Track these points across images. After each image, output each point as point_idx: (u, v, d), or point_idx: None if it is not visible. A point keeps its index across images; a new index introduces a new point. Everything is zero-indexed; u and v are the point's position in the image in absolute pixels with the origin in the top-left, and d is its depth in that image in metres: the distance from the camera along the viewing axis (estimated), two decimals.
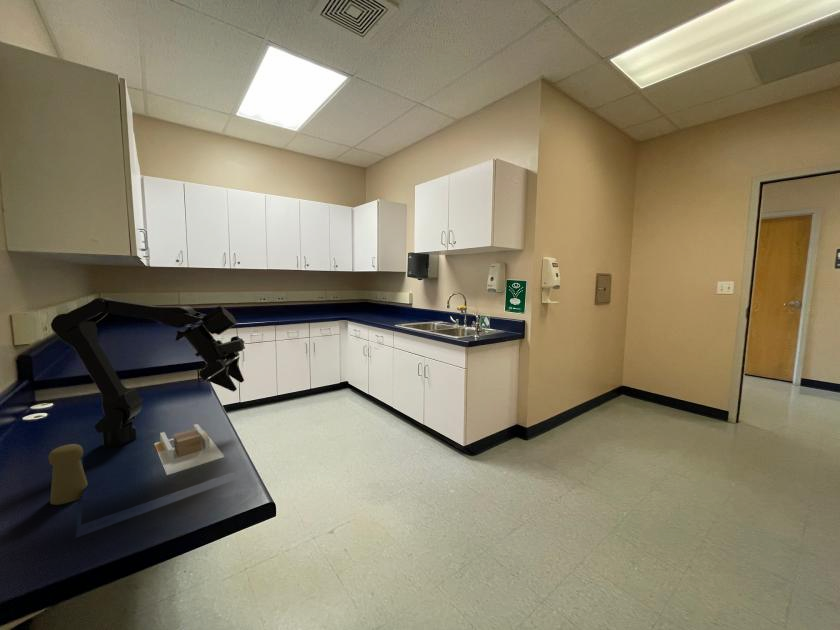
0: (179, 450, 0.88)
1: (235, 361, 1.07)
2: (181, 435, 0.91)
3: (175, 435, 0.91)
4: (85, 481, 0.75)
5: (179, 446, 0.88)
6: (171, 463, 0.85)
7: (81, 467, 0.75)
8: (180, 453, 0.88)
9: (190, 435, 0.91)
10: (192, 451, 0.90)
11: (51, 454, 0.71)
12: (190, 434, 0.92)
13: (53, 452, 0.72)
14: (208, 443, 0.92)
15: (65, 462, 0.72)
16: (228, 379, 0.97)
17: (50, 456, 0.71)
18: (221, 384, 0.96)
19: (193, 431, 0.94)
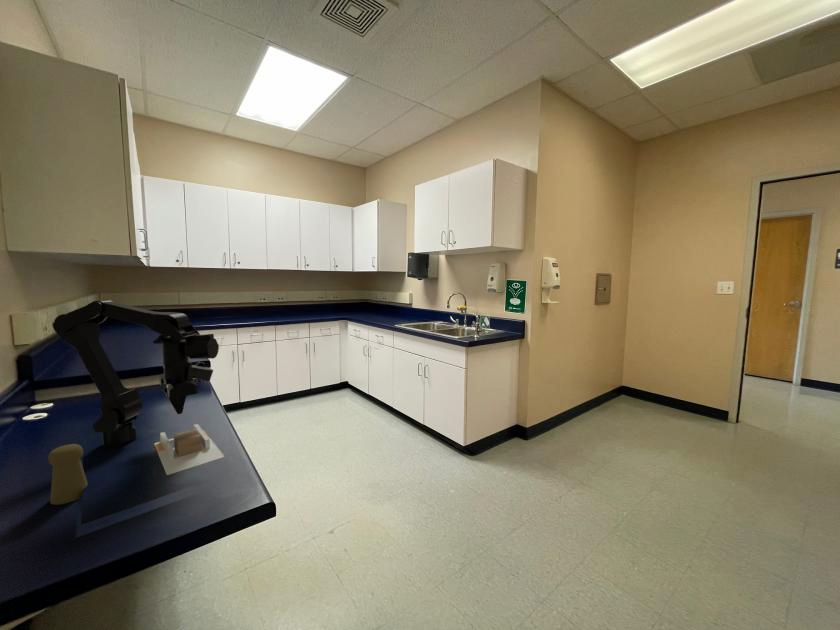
0: (179, 450, 0.88)
1: None
2: (181, 435, 0.91)
3: (175, 435, 0.91)
4: (85, 481, 0.75)
5: (179, 446, 0.88)
6: (171, 463, 0.85)
7: (81, 467, 0.75)
8: (180, 453, 0.88)
9: (190, 435, 0.91)
10: (192, 451, 0.90)
11: (51, 454, 0.71)
12: (190, 434, 0.92)
13: (53, 452, 0.72)
14: (208, 443, 0.92)
15: (65, 462, 0.72)
16: (183, 401, 0.96)
17: (50, 456, 0.71)
18: (174, 403, 0.94)
19: (193, 431, 0.94)
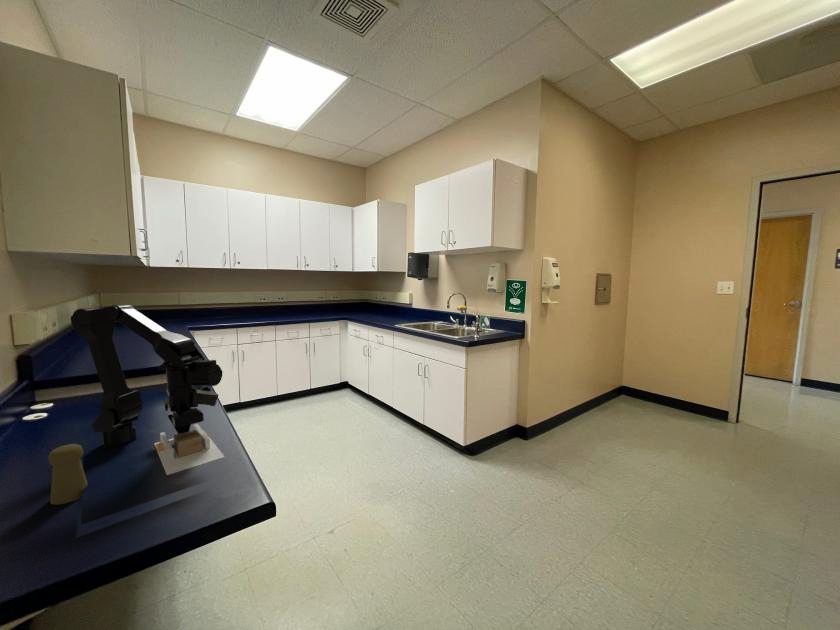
0: (179, 450, 0.87)
1: None
2: (181, 436, 0.91)
3: (175, 436, 0.91)
4: (85, 481, 0.75)
5: (179, 446, 0.87)
6: (171, 463, 0.85)
7: (81, 467, 0.75)
8: (180, 454, 0.88)
9: (190, 435, 0.91)
10: (192, 452, 0.89)
11: (51, 454, 0.71)
12: (191, 435, 0.91)
13: (53, 452, 0.72)
14: (208, 443, 0.92)
15: (66, 462, 0.72)
16: (188, 427, 0.94)
17: (50, 456, 0.71)
18: (179, 430, 0.92)
19: (193, 431, 0.93)
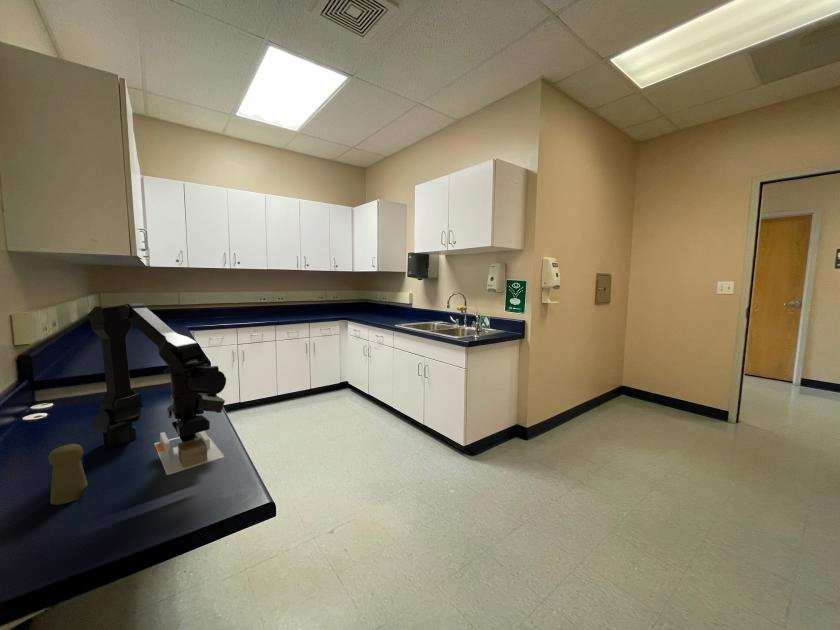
0: (184, 460, 0.83)
1: None
2: (186, 444, 0.86)
3: (180, 444, 0.86)
4: (85, 481, 0.75)
5: (184, 456, 0.83)
6: (171, 463, 0.85)
7: (81, 467, 0.75)
8: (185, 464, 0.83)
9: (195, 444, 0.86)
10: (197, 461, 0.85)
11: (51, 454, 0.71)
12: (196, 443, 0.86)
13: (53, 452, 0.72)
14: (208, 443, 0.92)
15: (65, 462, 0.72)
16: (193, 435, 0.89)
17: (50, 456, 0.71)
18: (183, 438, 0.88)
19: (198, 440, 0.88)
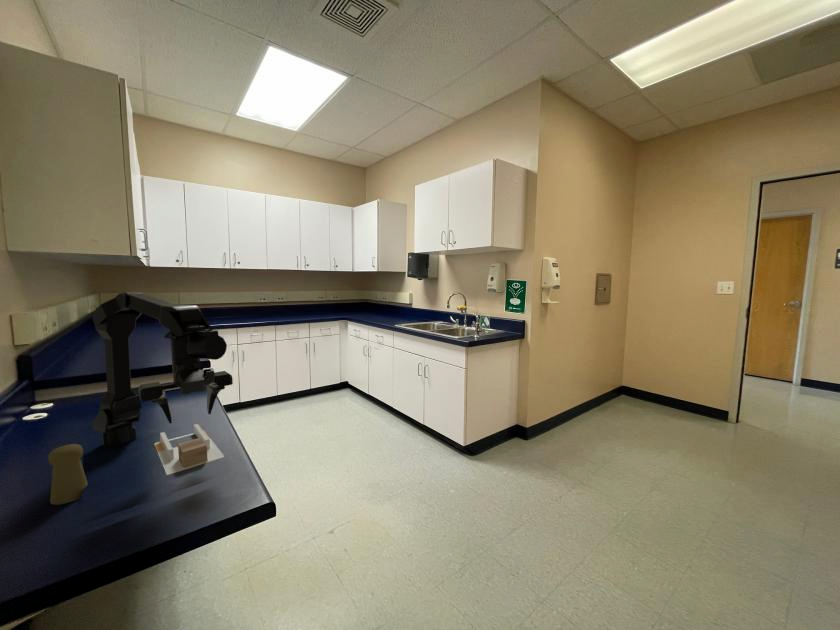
0: (184, 460, 0.83)
1: (211, 390, 0.87)
2: (186, 444, 0.86)
3: (180, 444, 0.86)
4: (85, 481, 0.75)
5: (184, 456, 0.82)
6: (171, 463, 0.85)
7: (81, 467, 0.75)
8: (185, 464, 0.83)
9: (196, 444, 0.86)
10: (197, 461, 0.84)
11: (51, 454, 0.71)
12: (196, 443, 0.86)
13: (53, 452, 0.72)
14: (208, 443, 0.92)
15: (66, 462, 0.72)
16: (163, 410, 0.81)
17: (50, 456, 0.71)
18: None
19: (198, 440, 0.88)
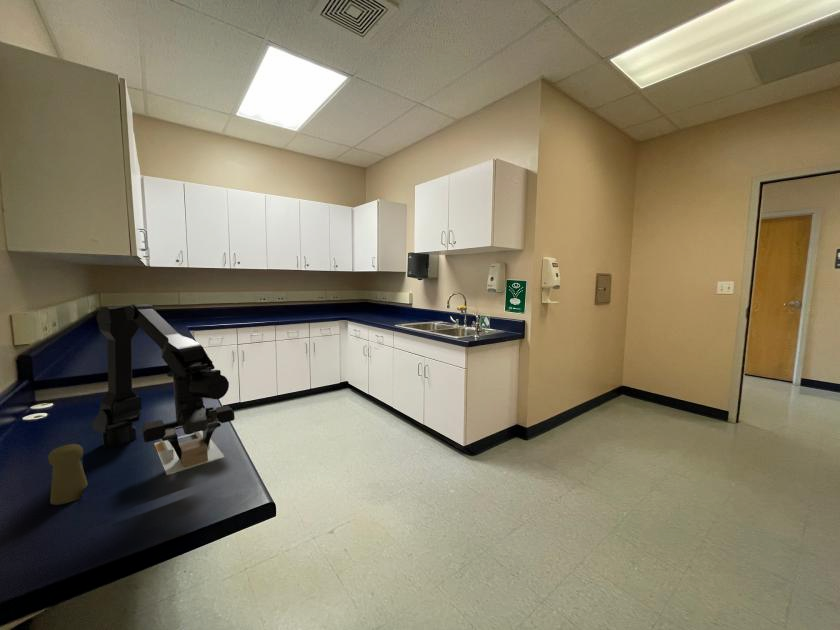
0: (185, 460, 0.83)
1: (207, 428, 0.87)
2: (186, 444, 0.86)
3: (180, 444, 0.86)
4: (85, 481, 0.75)
5: (184, 456, 0.83)
6: (171, 463, 0.85)
7: (81, 467, 0.75)
8: (186, 464, 0.83)
9: (196, 444, 0.86)
10: (198, 461, 0.85)
11: (51, 454, 0.71)
12: (196, 443, 0.86)
13: (53, 452, 0.72)
14: None
15: (65, 462, 0.72)
16: (173, 447, 0.83)
17: (50, 456, 0.71)
18: None
19: (199, 440, 0.88)
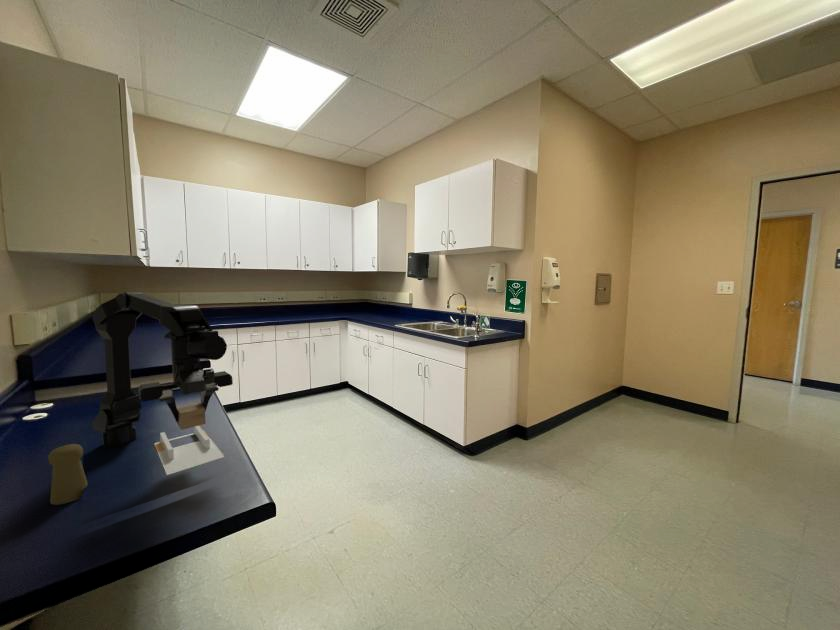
0: (182, 422, 0.82)
1: (205, 392, 0.86)
2: (184, 407, 0.85)
3: (177, 407, 0.85)
4: (85, 481, 0.75)
5: (182, 418, 0.82)
6: (171, 463, 0.85)
7: (81, 467, 0.75)
8: (183, 426, 0.82)
9: (193, 407, 0.85)
10: (195, 424, 0.84)
11: (51, 454, 0.71)
12: (194, 407, 0.85)
13: (53, 452, 0.72)
14: (208, 443, 0.92)
15: (65, 462, 0.72)
16: (170, 408, 0.82)
17: (50, 456, 0.71)
18: None
19: (197, 404, 0.87)
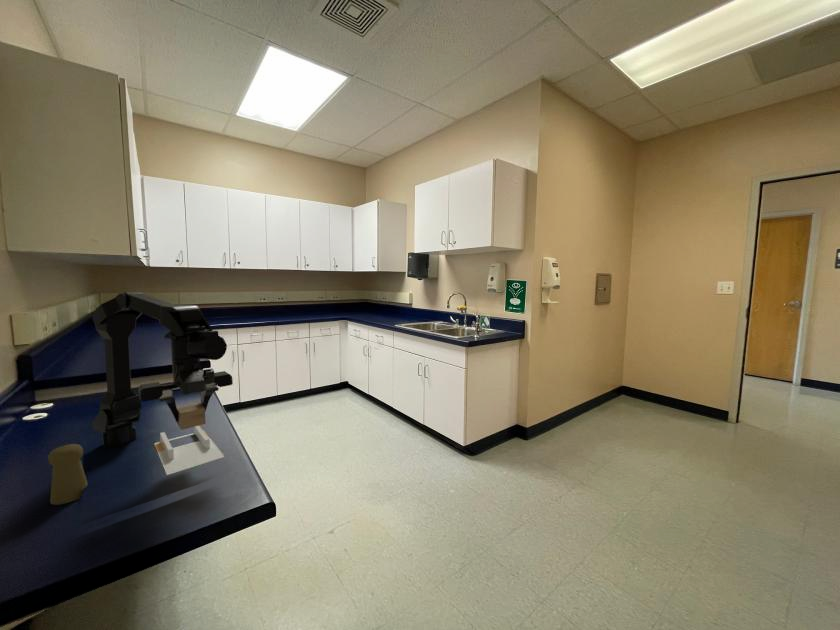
0: (182, 422, 0.82)
1: (205, 392, 0.86)
2: (184, 407, 0.85)
3: (177, 407, 0.85)
4: (85, 481, 0.75)
5: (182, 418, 0.82)
6: (171, 463, 0.85)
7: (81, 467, 0.75)
8: (183, 426, 0.82)
9: (193, 407, 0.85)
10: (195, 424, 0.84)
11: (51, 454, 0.71)
12: (194, 407, 0.85)
13: (53, 452, 0.72)
14: (208, 443, 0.92)
15: (65, 462, 0.72)
16: (170, 408, 0.82)
17: (50, 456, 0.71)
18: None
19: (197, 404, 0.87)
